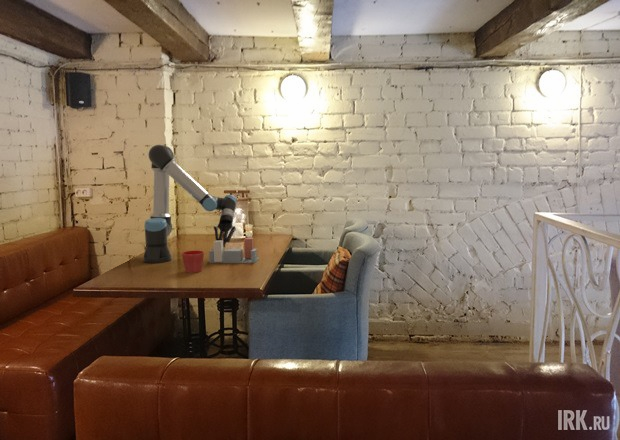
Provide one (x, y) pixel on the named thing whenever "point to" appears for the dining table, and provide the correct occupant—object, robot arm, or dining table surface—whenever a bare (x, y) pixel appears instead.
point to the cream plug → (218, 251)
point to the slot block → (234, 256)
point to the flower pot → (193, 261)
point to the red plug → (248, 247)
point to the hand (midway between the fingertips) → (220, 251)
